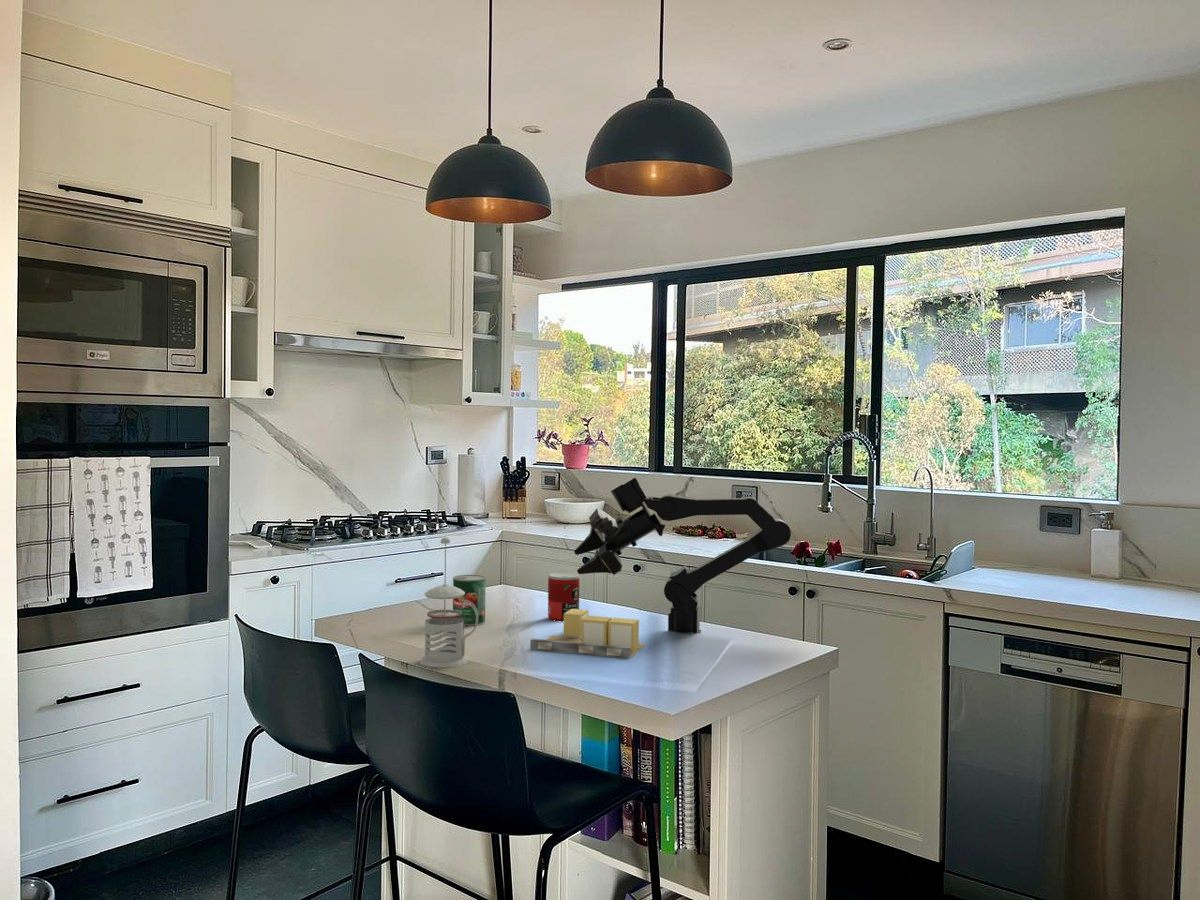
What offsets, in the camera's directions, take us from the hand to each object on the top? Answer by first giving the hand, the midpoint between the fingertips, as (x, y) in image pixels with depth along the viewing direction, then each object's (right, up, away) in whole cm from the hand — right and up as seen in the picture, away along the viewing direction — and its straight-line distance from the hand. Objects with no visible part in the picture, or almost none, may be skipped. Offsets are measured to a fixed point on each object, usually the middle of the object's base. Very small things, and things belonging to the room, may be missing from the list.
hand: (576, 562), depth 207 cm
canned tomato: (-26, -16, +7) cm, 31 cm away
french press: (-25, -16, -29) cm, 42 cm away
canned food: (-4, -16, +12) cm, 20 cm away
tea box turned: (0, -16, -8) cm, 18 cm away
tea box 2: (+10, -15, -21) cm, 28 cm away
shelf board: (+3, -16, -20) cm, 26 cm away
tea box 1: (+5, -15, -20) cm, 25 cm away
